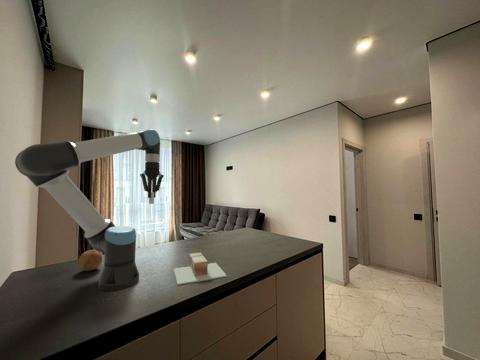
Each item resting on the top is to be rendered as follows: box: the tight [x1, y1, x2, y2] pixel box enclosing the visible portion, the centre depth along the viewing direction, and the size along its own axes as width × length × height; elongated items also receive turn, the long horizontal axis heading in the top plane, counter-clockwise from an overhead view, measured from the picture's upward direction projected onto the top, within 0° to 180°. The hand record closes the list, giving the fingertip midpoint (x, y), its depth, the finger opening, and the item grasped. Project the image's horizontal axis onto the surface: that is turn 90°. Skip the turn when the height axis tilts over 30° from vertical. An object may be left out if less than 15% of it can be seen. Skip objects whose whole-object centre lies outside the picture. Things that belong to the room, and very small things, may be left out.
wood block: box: [188, 252, 209, 276], centre depth 101 cm, size 6×6×15 cm
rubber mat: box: [173, 262, 228, 286], centre depth 98 cm, size 18×22×1 cm
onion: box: [77, 249, 103, 272], centre depth 102 cm, size 10×10×10 cm
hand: (151, 203), depth 114 cm, fingers closed
